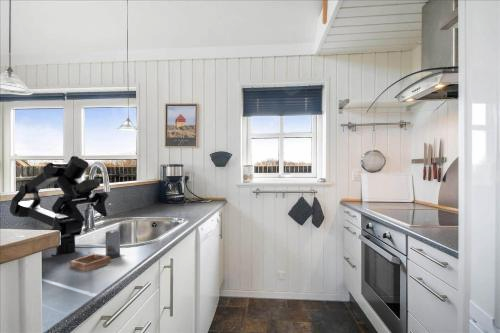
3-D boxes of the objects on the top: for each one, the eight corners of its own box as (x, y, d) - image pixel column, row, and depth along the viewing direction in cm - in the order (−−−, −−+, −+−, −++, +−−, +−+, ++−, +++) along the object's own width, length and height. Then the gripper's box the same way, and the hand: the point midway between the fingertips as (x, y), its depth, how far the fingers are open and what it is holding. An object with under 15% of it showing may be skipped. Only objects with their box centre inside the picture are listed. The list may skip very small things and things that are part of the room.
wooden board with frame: (64, 269, 82) (64, 260, 82) (109, 253, 96) (109, 246, 96) (88, 275, 77) (88, 266, 77) (132, 258, 91) (132, 251, 91)
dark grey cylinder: (102, 258, 90) (102, 232, 90) (114, 254, 94) (114, 229, 94) (111, 259, 88) (111, 233, 88) (122, 255, 92) (122, 230, 92)
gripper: (57, 172, 86) (83, 206, 82) (104, 171, 103) (127, 199, 100) (40, 196, 88) (65, 230, 84) (89, 191, 106) (111, 219, 102)
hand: (95, 218), depth 93 cm, fingers open, 9 cm apart
